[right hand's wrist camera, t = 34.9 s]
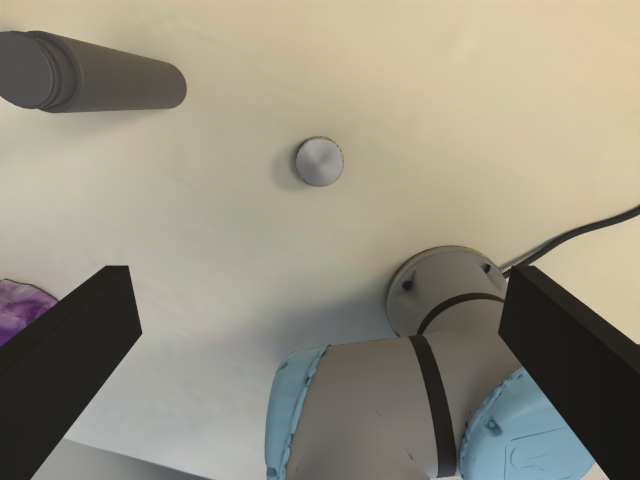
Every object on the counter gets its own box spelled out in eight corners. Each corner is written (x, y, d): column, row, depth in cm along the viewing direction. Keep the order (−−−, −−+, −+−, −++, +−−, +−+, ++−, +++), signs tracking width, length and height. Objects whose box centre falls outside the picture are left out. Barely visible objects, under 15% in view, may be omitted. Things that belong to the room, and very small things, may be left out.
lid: (348, 143, 41) (350, 145, 38) (335, 188, 42) (335, 192, 40) (303, 130, 40) (302, 131, 38) (291, 175, 42) (289, 180, 40)
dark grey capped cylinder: (159, 115, 39) (12, 127, 21) (135, 74, 38) (-46, 46, 19) (194, 97, 39) (76, 93, 20) (171, 54, 37) (21, 6, 19)
